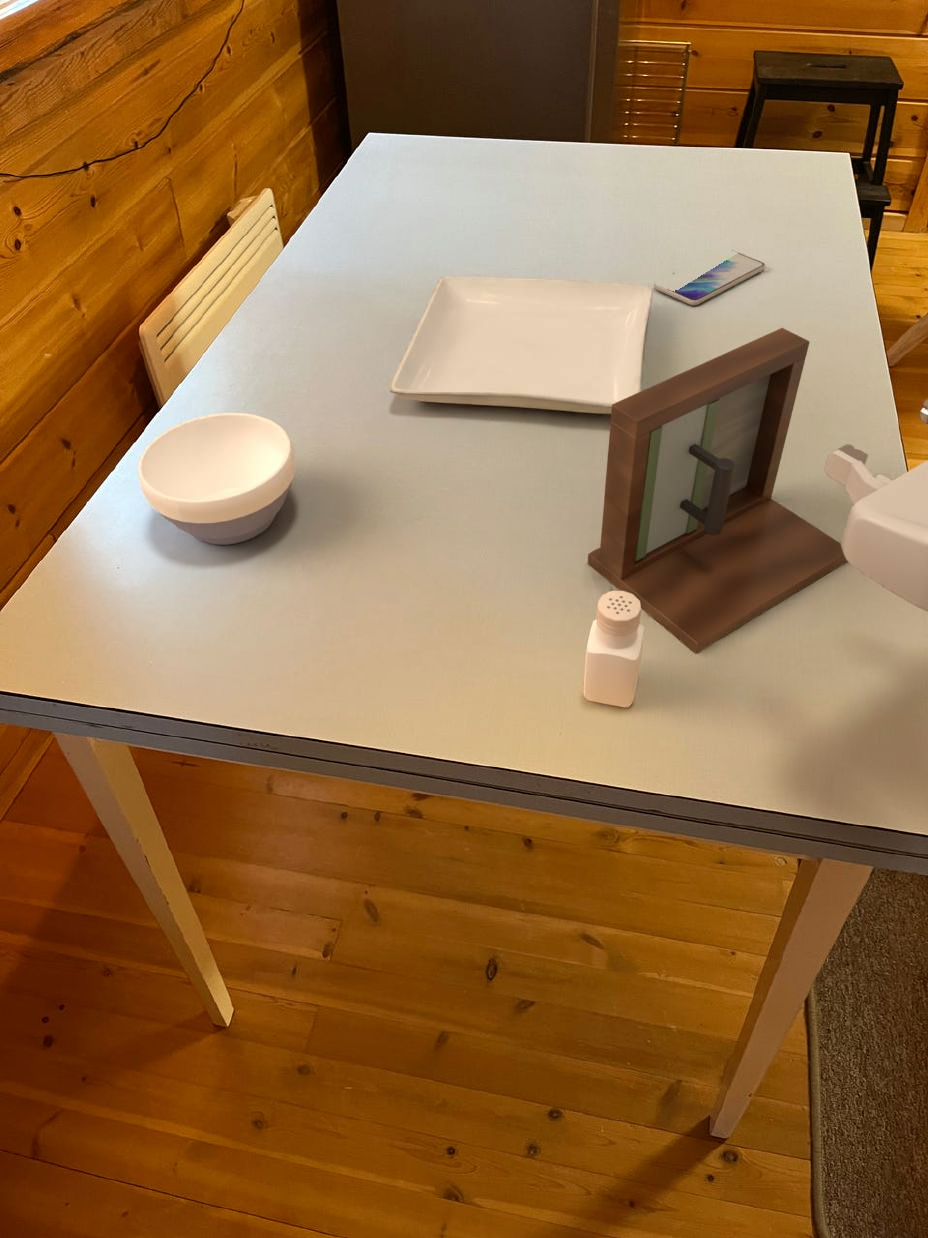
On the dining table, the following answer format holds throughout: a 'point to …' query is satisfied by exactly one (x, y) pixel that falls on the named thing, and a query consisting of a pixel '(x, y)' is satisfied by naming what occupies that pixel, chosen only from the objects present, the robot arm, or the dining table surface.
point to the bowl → (219, 475)
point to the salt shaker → (614, 650)
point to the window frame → (754, 523)
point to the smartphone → (716, 279)
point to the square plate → (527, 344)
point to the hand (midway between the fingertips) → (882, 429)
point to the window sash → (682, 480)
